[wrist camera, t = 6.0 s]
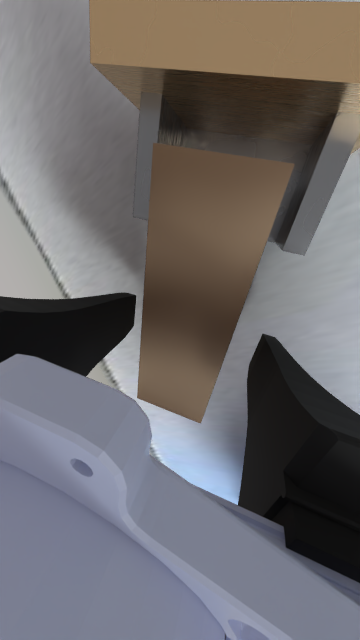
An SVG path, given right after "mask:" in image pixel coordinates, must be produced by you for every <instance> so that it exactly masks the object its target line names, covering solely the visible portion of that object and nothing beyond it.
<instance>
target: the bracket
mask: <svg viewBox="0 0 360 640" xmlns="http://www.w3.org/2000/svg"><path fill="white" fill-rule="evenodd" d="M89 4H90V63H91V64H92V65H93V66H94V67H95V68H96V69H97V70H98V71H99V72H101V73H102V74H103V75H104V76H105V77H106V78H107V79H108V80H109V81H110V82H111V83H112V84H113V85H114V86H115V87H116V88H117V89H118V90H119V91H120V92H121V93H122V94H123V95H125V96H126V97H127V98H128V99H129V100H130V101H131V102H132V103H133V104H134V105H135V106H136V107H137V108H138V109H139V110H140V115H139V131H138V146H137V162H136V177H135V193H134V208H133V217H136V218H140V219H145V220H148V217H149V200H150V184H151V168H152V152H153V143H158V144H165V145H172V146H178V147H185V148H192V149H199V150H205V151H212V152H219V153H225V154H232V155H239V156H245V157H252V158H259V159H266V160H272V161H279V162H286V163H292V164H295V165H294V168H293V171H292V173H291V176H290V179H289V182H288V184H287V187H286V190H285V193H284V195H283V198H282V201H281V204H280V206H279V209H278V212H277V215H276V217H275V220H274V223H273V226H272V228H271V231H270V234H269V237H268V239H267V241H270V242H275V243H276V244H277V245H278V246H279V247H280V248H281V249H282V250H283V251H287V252H291V253H296V254H300V255H305V253H306V251H307V249H308V247H309V244H310V242H311V240H312V238H313V235H314V233H315V231H316V229H317V227H318V224H319V222H320V220H321V218H322V215H323V213H324V211H325V209H326V207H327V204H328V202H329V200H330V198H331V196H332V193H333V191H334V189H335V187H336V184H337V182H338V180H339V178H340V176H341V173H342V171H343V169H344V167H345V164H346V162H347V160H348V158H349V156H350V154H351V153H353V152H354V151H356V150H357V149H359V148H360V2H310V1H220V0H89Z"/></svg>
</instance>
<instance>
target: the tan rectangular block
mask: <svg viewBox="0 0 360 640" xmlns="http://www.w3.org/2000/svg"><path fill="white" fill-rule="evenodd" d="M294 165H295V164H292V163H286V162H279V161H272V160H266V159H259V158H252V157H245V156H239V155H232V154H225V153H219V152H212V151H205V150H199V149H192V148H185V147H178V146H172V145H165V144H158V143H153V152H152V168H151V184H150V200H149V217H148V233H147V249H146V265H145V281H144V297H143V313H142V329H141V345H140V361H139V377H138V393H137V398H139V399H141V400H143V401H146V402H148V403H151V404H153V405H156V406H158V407H161V408H163V409H166V410H168V411H171V412H173V413H176V414H178V415H181V416H183V417H186V418H188V419H191V420H193V421H196V422H198V423H201V421H202V418H203V416H204V413H205V410H206V407H207V405H208V402H209V399H210V396H211V394H212V391H213V388H214V385H215V383H216V380H217V377H218V374H219V372H220V369H221V366H222V363H223V361H224V358H225V355H226V352H227V350H228V347H229V344H230V341H231V339H232V336H233V333H234V330H235V328H236V325H237V322H238V319H239V317H240V314H241V311H242V308H243V305H244V303H245V300H246V297H247V294H248V292H249V289H250V286H251V283H252V281H253V278H254V275H255V272H256V270H257V267H258V264H259V261H260V259H261V256H262V253H263V250H264V248H265V245H266V242H267V239H268V237H269V234H270V231H271V228H272V226H273V223H274V220H275V217H276V215H277V212H278V209H279V206H280V204H281V201H282V198H283V195H284V193H285V190H286V187H287V184H288V182H289V179H290V176H291V173H292V171H293V168H294Z"/></svg>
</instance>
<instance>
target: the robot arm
mask: <svg viewBox="0 0 360 640" xmlns="http://www.w3.org/2000/svg"><path fill="white" fill-rule="evenodd" d="M135 305H136V295H133V294H130V293H114V294H106V295H99V296H92V297H83V298H74V299H55V300H54V299H52V300H51V299H50V300H49V299H22V298H11V297H1V296H0V640H360V415H359V414H357V413H356V412H354V411H353V410H351V409H350V408H349V407H347V406H346V405H345V404H343V403H342V402H341V401H339V400H338V399H337V398H335V397H334V396H333V395H331V394H330V393H329V392H328V391H326V390H325V389H324V388H323V387H322V386H321V385H320V384H318V383H317V382H316V381H315V380H314V379H313V378H312V377H311V376H310V375H309V374H308V373H307V372H306V371H305V370H304V369H303V368H302V367H301V366H300V365H299V364H298V363H297V362H296V361H295V360H294V359H293V357H292V356H291V355H290V354H289V353H288V352H287V350H286V349H285V348H284V347H283V346H282V344H281V343H280V342H279V341H278V340H277V339H276V338H275V337H272V336H269V335H265V334H262V336H261V339H260V341H259V343H258V346H257V348H256V350H255V352H254V355H253V357H252V359H251V362H250V364H249V370H248V378H247V402H248V427H247V437H246V448H245V456H244V465H243V473H242V481H241V488H240V496H239V502H238V505H236V504H234V503H232V502H229V501H227V500H225V499H223V498H221V497H219V496H216V495H214V494H212V493H210V492H208V491H206V490H203V489H201V488H199V487H197V486H195V485H193V484H191V483H189V482H188V481H186V480H185V479H184V478H182V477H181V476H179V475H178V474H177V473H175V472H174V471H172V470H171V469H169V468H168V467H167V466H165V465H164V464H162V463H161V462H160V461H158V460H157V459H155V458H154V457H153V456H151V455H150V454H149V449H150V444H151V438H152V433H151V428H150V423H149V419H148V417H147V415H146V414H145V413H144V411H143V410H142V409H141V407H140V406H139V405H138V404H137V402H136V401H135V400H133V399H132V398H130V397H129V396H127V395H125V394H124V393H122V392H121V391H119V390H117V389H115V388H112V387H110V386H108V385H105V384H102V383H100V382H97V381H95V380H93V379H90V378H88V377H86V376H87V375H88V374H89V372H90V371H91V370H92V369H93V368H94V367H95V366H96V365H97V364H98V363H99V362H100V361H101V360H102V359H103V358H104V357H105V356H106V355H107V354H108V353H109V352H110V351H111V350H112V349H113V348H114V347H116V346H117V345H118V344H119V343H120V342H121V341H122V340H123V339H124V338H125V337H126V335H127V334H128V333H129V332H130V330H131V329H132V327H133V326H134V316H135Z"/></svg>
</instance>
